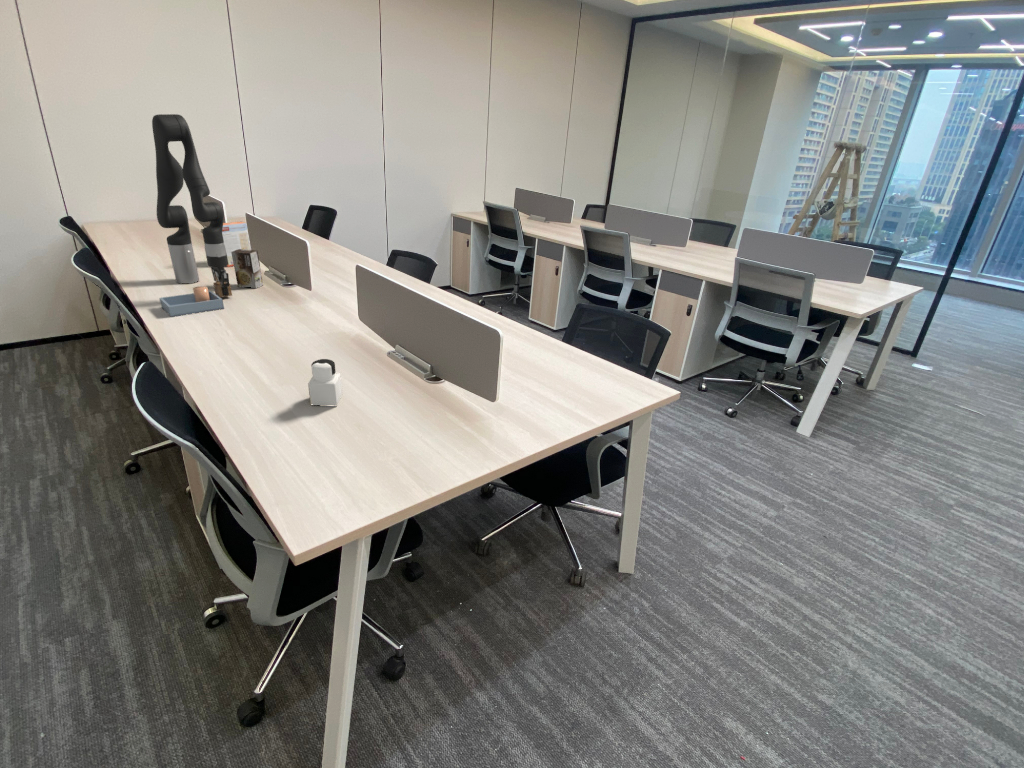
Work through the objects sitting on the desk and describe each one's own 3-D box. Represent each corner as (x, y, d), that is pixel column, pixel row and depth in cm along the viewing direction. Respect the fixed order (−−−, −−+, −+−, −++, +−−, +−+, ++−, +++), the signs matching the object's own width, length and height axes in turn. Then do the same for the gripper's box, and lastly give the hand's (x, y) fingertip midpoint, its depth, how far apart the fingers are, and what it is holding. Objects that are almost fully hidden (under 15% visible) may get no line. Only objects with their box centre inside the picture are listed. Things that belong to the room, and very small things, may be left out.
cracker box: (247, 261, 274) (241, 221, 265) (253, 263, 271) (247, 222, 262) (221, 265, 264) (213, 223, 254) (227, 267, 260) (219, 225, 251)
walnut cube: (215, 294, 217) (213, 282, 215) (228, 292, 220) (226, 281, 218) (219, 297, 214) (217, 285, 212) (232, 295, 217) (230, 284, 215)
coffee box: (263, 285, 237) (258, 250, 230) (256, 288, 231) (250, 253, 224) (245, 283, 238) (239, 248, 231) (236, 287, 232) (230, 251, 225)
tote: (161, 307, 202) (159, 297, 200) (213, 300, 214) (211, 290, 212) (171, 317, 193) (168, 307, 191) (224, 308, 205) (222, 299, 203)
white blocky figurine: (317, 394, 147) (312, 356, 141) (342, 395, 147) (339, 356, 142) (310, 406, 140) (305, 366, 135) (337, 406, 141) (333, 367, 136)
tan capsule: (195, 304, 206) (191, 287, 203) (208, 302, 209) (205, 285, 206) (198, 307, 203) (195, 290, 200) (212, 305, 206) (209, 288, 203)
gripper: (200, 251, 211) (208, 290, 219) (212, 258, 203) (220, 299, 210) (220, 249, 216) (227, 288, 224) (232, 256, 207) (239, 296, 215)
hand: (223, 293), depth 217 cm, fingers closed on walnut cube, 5 cm apart
